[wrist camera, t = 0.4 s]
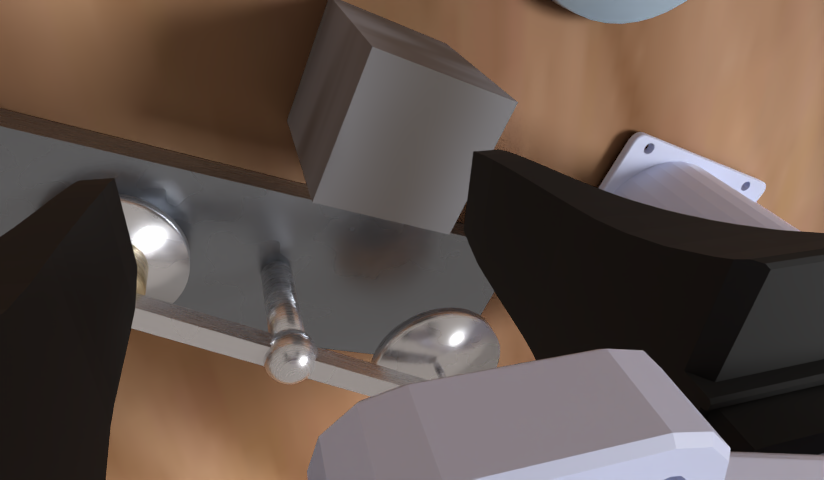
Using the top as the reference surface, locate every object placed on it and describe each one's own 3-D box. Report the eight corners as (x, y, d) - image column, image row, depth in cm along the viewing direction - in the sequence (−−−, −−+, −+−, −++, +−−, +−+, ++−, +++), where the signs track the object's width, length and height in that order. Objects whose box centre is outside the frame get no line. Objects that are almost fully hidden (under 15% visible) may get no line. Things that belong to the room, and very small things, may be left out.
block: (445, 43, 21) (517, 102, 16) (397, 152, 23) (449, 234, 18) (329, -5, 19) (372, 46, 14) (286, 120, 21) (312, 202, 16)
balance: (508, 234, 27) (598, 350, 20) (444, 346, 29) (506, 476, 23) (-14, 105, 18) (-128, 243, 11) (-31, 284, 20) (-130, 470, 14)
